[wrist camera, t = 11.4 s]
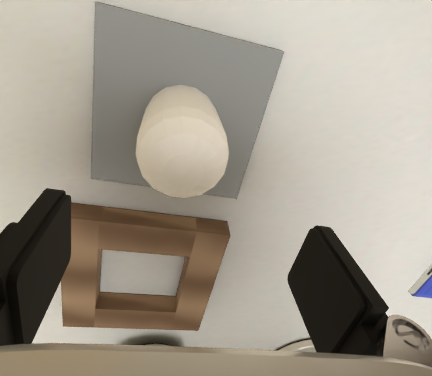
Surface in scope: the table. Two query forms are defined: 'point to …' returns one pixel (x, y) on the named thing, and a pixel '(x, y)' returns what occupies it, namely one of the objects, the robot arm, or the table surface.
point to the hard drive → (423, 285)
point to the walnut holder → (143, 243)
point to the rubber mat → (170, 76)
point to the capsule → (181, 143)
